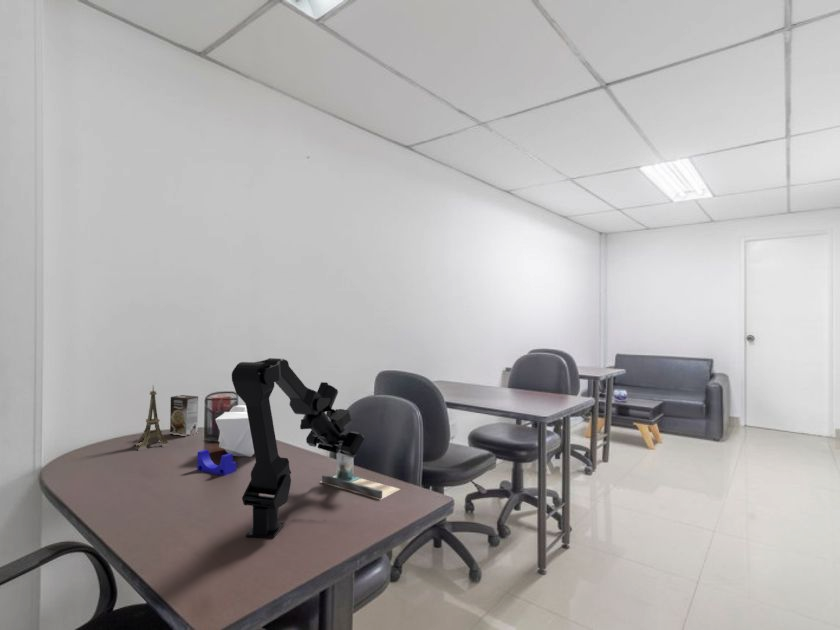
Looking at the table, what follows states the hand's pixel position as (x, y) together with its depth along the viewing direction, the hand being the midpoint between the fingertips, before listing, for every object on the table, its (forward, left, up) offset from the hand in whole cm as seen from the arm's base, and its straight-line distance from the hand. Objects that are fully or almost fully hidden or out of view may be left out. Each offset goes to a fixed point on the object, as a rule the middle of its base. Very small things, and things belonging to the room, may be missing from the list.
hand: (348, 454), depth 134 cm
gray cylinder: (-1, +1, -6) cm, 6 cm away
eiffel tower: (+31, +84, -8) cm, 90 cm away
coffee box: (+48, +82, -8) cm, 96 cm away
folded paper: (+24, +43, -8) cm, 50 cm away
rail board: (-6, -5, -8) cm, 11 cm away
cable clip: (+5, +44, -8) cm, 45 cm away
